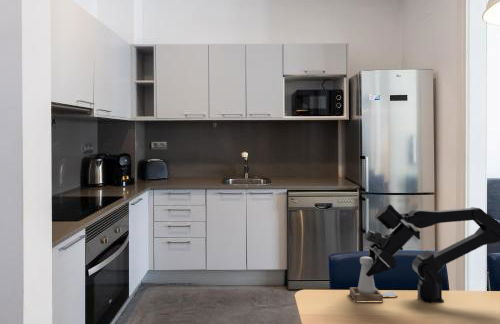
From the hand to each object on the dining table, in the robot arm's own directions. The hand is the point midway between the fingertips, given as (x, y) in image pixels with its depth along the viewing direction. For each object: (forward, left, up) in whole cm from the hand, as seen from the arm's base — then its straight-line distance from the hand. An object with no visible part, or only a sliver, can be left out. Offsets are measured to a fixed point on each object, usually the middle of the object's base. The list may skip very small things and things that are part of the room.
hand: (364, 272), depth 143 cm
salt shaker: (-1, 0, -8) cm, 8 cm away
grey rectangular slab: (-7, -3, -9) cm, 12 cm away
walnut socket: (0, 0, -9) cm, 9 cm away
